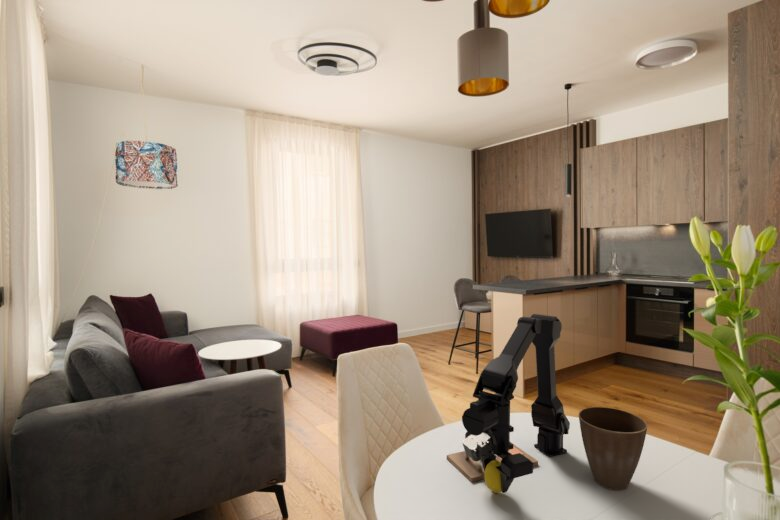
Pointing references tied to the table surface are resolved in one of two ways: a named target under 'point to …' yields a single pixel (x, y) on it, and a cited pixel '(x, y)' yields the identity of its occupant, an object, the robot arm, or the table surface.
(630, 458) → the plant pot
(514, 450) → the terracotta tile
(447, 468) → the table surface
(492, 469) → the lemon
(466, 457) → the bent wire
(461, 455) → the walnut board
